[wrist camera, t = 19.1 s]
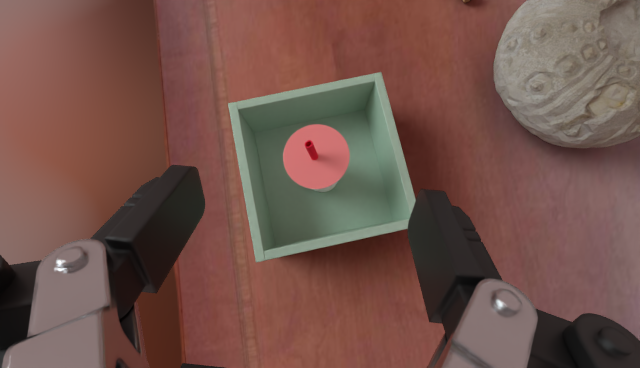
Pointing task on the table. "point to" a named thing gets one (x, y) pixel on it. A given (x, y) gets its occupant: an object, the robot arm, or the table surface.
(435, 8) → the table surface
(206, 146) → the table surface
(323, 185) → the cup
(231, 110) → the bin
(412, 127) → the table surface
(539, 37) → the decorative shell
